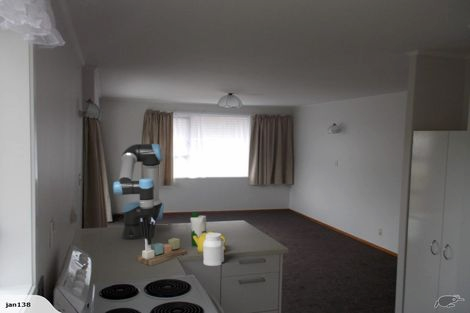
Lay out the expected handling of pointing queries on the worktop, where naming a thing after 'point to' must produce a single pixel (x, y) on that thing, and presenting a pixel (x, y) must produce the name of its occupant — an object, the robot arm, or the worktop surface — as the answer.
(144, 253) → the key cream
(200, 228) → the milk carton
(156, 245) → the key teal
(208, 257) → the jar
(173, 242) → the key olive
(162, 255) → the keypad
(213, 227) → the worktop surface
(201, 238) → the teapot
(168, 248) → the key terracotta
